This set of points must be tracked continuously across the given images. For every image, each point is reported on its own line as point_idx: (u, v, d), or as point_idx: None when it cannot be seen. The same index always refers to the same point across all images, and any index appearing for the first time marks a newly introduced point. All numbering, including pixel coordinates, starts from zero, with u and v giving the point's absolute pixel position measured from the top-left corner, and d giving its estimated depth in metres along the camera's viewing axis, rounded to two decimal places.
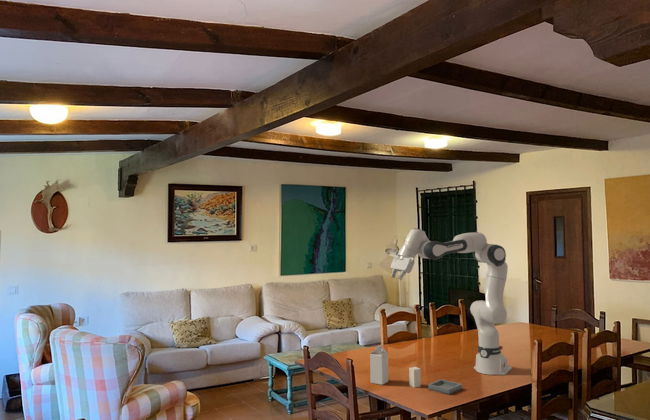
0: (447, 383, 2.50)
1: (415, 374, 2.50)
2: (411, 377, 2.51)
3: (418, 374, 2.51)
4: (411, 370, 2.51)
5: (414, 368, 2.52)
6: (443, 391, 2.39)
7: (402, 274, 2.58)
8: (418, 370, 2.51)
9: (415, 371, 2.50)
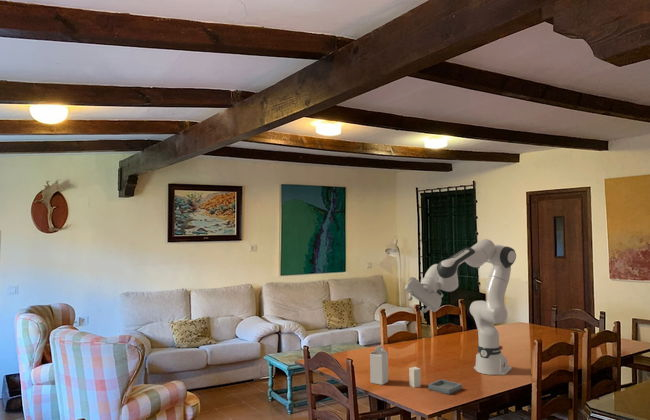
0: (447, 383, 2.50)
1: (415, 374, 2.50)
2: (411, 377, 2.51)
3: (418, 374, 2.51)
4: (411, 370, 2.51)
5: (414, 368, 2.52)
6: (443, 391, 2.39)
7: (409, 295, 2.52)
8: (418, 370, 2.51)
9: (415, 371, 2.50)
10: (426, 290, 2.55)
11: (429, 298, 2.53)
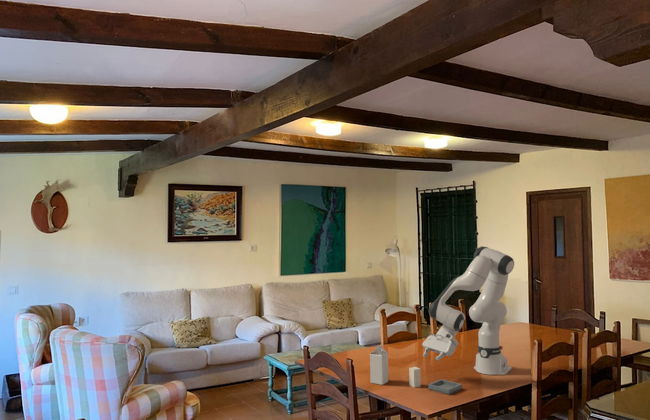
0: (447, 383, 2.50)
1: (415, 374, 2.50)
2: (411, 377, 2.51)
3: (418, 374, 2.51)
4: (411, 370, 2.51)
5: (414, 368, 2.52)
6: (443, 391, 2.39)
7: None
8: (418, 370, 2.51)
9: (415, 371, 2.50)
10: (439, 340, 2.59)
11: (441, 345, 2.55)
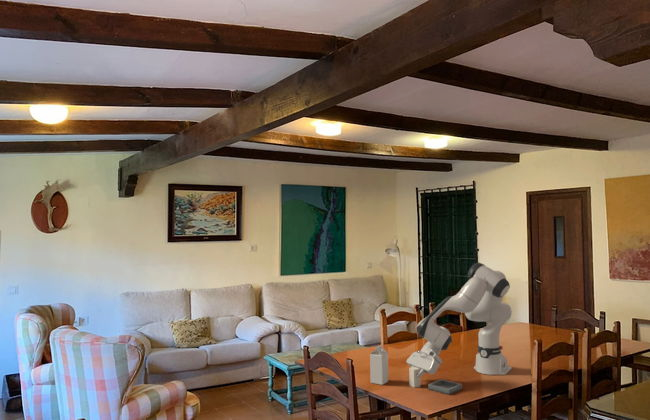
0: (447, 383, 2.50)
1: (415, 374, 2.50)
2: (411, 377, 2.51)
3: None
4: (411, 370, 2.51)
5: (414, 368, 2.52)
6: (443, 391, 2.39)
7: None
8: (418, 370, 2.51)
9: (415, 371, 2.50)
10: (422, 357, 2.55)
11: (424, 363, 2.51)
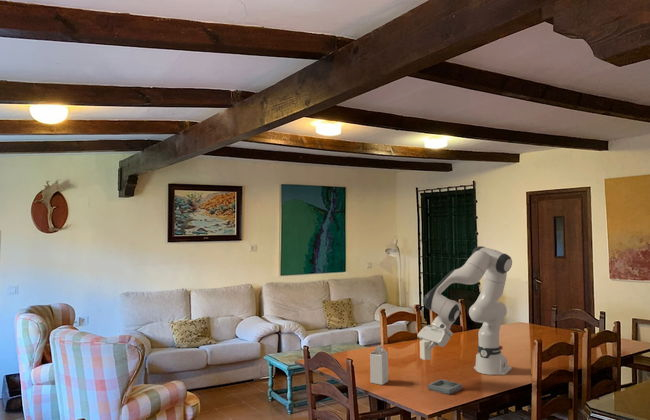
0: (447, 383, 2.50)
1: (425, 347, 2.49)
2: (422, 350, 2.51)
3: None
4: (421, 343, 2.51)
5: (424, 341, 2.51)
6: (443, 391, 2.39)
7: None
8: (428, 343, 2.50)
9: (425, 344, 2.49)
10: (433, 330, 2.54)
11: (434, 335, 2.50)
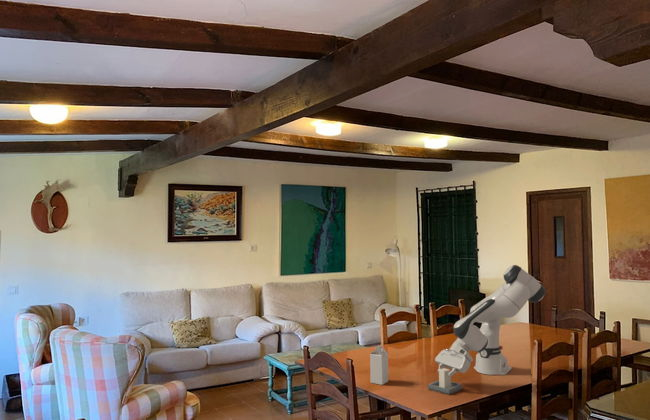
0: None
1: (445, 375, 2.44)
2: (441, 378, 2.45)
3: None
4: (441, 371, 2.45)
5: (444, 369, 2.46)
6: (443, 391, 2.39)
7: None
8: (448, 371, 2.45)
9: (445, 372, 2.44)
10: (452, 355, 2.49)
11: (454, 361, 2.45)
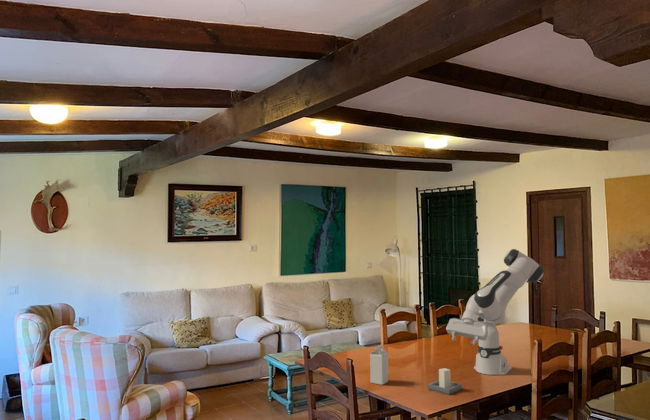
0: None
1: (445, 375, 2.44)
2: (441, 378, 2.45)
3: (448, 375, 2.45)
4: (441, 371, 2.45)
5: (444, 369, 2.46)
6: (443, 391, 2.39)
7: (452, 335, 2.48)
8: (448, 371, 2.45)
9: (445, 372, 2.44)
10: (467, 323, 2.48)
11: (473, 329, 2.44)
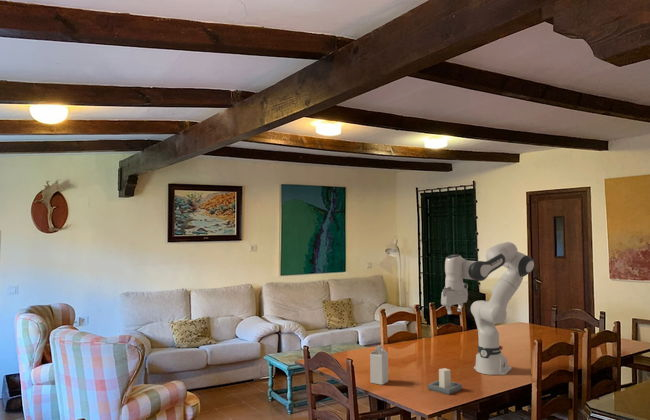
0: None
1: (445, 375, 2.44)
2: (441, 378, 2.45)
3: (448, 375, 2.45)
4: (441, 371, 2.45)
5: (444, 369, 2.46)
6: (443, 391, 2.39)
7: (447, 308, 2.49)
8: (448, 371, 2.45)
9: (445, 372, 2.44)
10: (457, 292, 2.52)
11: (461, 297, 2.54)
